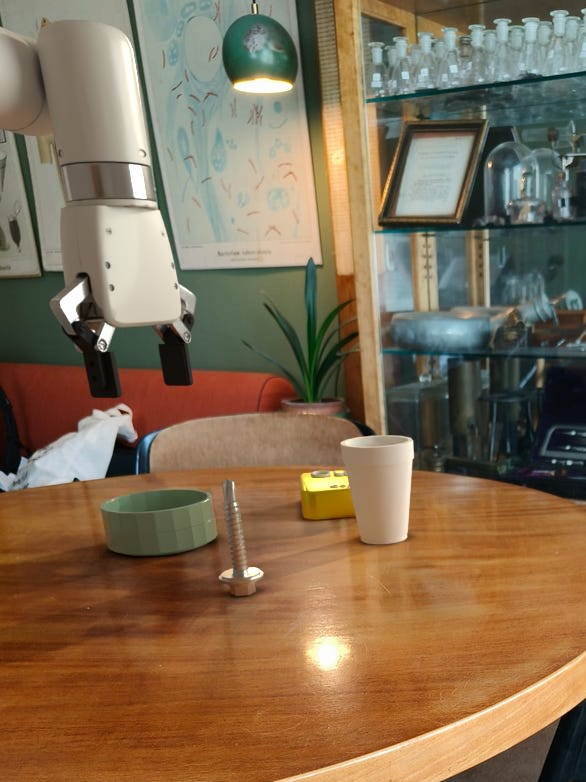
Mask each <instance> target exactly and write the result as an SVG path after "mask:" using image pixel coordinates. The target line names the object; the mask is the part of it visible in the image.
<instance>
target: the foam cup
mask: <svg viewBox="0 0 586 782" xmlns="http://www.w3.org/2000/svg"><path fill="white" fill-rule="evenodd" d="M340 452H341V453H340V454H341V462H342V463H343V464H344V468H345V469H344V470H346V473H347V478H348V483H349V487H350V492H351V496H352V501H353V506H354V510H355V515H356V517H355V519H356V523H357V524H356V525H357V529H358V533H359V536H360V541H361V542H363V543H365V544H369V545H389V544H390V545H391V544H396V543H400V542H403V541H405V540H406V539H407V538H408V532H409V519H410V505H411V504H410V503H411V489H412V474H413V459H415V452H414V440H413V439H412V437H411V436H410V437H409V436H404V435H391V434H390V435H388V434H387V435H385V434H383V435H368V436H358V437H353V438H348V439H344V440H343V441H340Z"/></svg>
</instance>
